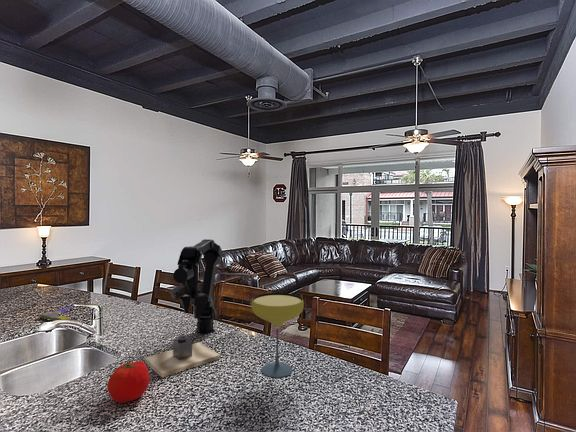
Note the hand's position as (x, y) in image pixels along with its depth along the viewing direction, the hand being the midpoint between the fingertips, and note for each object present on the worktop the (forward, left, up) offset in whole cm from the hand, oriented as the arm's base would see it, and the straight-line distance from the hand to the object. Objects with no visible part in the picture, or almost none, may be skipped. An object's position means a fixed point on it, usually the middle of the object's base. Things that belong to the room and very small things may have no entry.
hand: (191, 315), depth 143 cm
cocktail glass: (-12, +40, -12) cm, 44 cm away
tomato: (+32, +24, -12) cm, 42 cm away
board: (+9, +11, -12) cm, 19 cm away
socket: (+9, +11, -10) cm, 18 cm away
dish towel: (+28, -77, -13) cm, 83 cm away
